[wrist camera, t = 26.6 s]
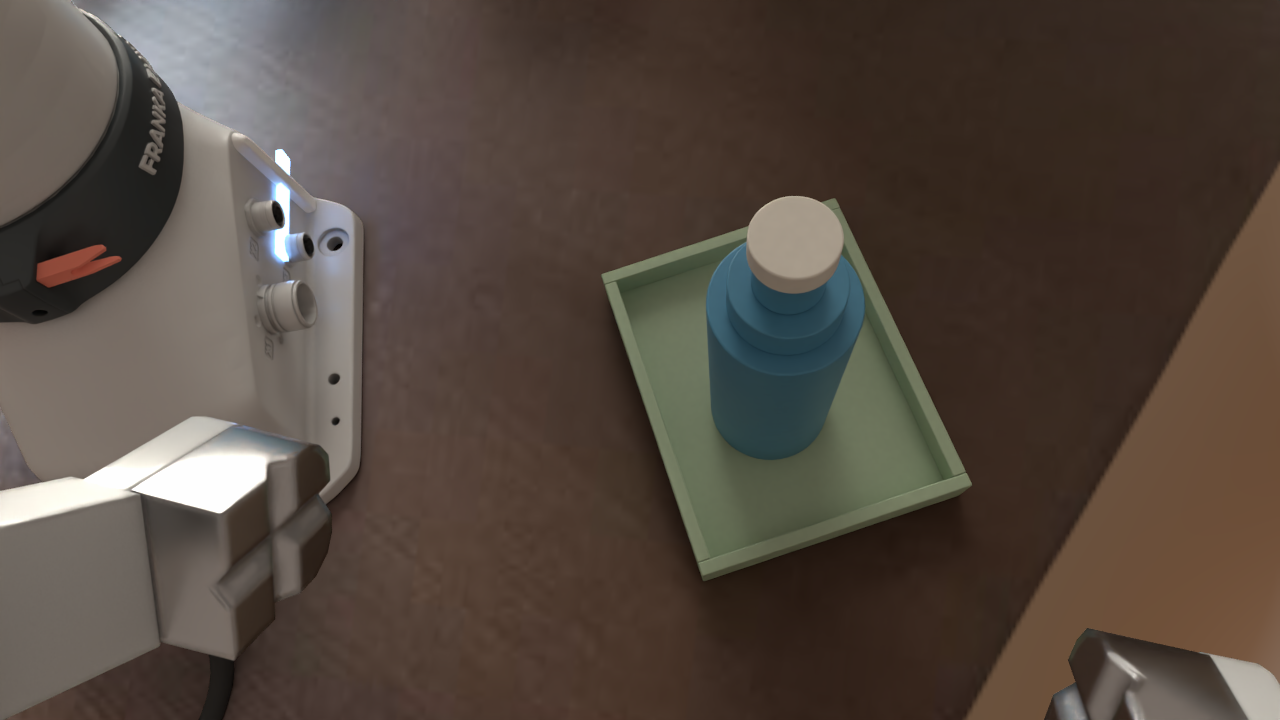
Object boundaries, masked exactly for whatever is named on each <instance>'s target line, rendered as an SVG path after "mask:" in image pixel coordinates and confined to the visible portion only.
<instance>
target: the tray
mask: <svg viewBox="0 0 1280 720" xmlns="http://www.w3.org/2000/svg"><path fill="white" fill-rule="evenodd" d="M821 203H822V204H824V205H826V206H827V207H828V208H829V209H830V210H831V211H832V212H833V213H834V214H835V215H836V217H837V218H838V220H839V222H840V223H841V226H842V229H843V233H844V245H843V249H842V253H841V255H842V256H843V257H844V258H845V259H846V260H847V261H848V262H849V263H850V265H851V266H852V268H853V269H854V270H855V272H856V274H857V276H858V278H859V280H860V282H861V285H862V288H863V292H864V297H865V316H864V321H863V325H862V328H861V330H860V333H859V336H858V338H857V341H856V343H855V346H854V348H853V351H852V353H851V356H850V359H849V361H848V364H847V366H846V369H845V371H844V374H843V376H842V379H841V382H840V384H839V387H838V389H837V392H836V394H835V397H834V399H833V402H832V405H831V407H830V410H829V412H828V415H827V417H826V420H825V422H824V425H823V427H822V430H821V431H820V433H819V435H818V436H817V438H816V439H815V440H814V441H813V442H812V443H811V444H810V445H809V446H808V447H807V448H805V449H804V450H803V451H801V452H799V453H797V454H796V455H793V456H790V457H787V458H783V459H777V460H763V459H757V458H753V457H750V456H748V455H745V454H743V453H741V452H739V451H738V450H736V449H735V448H733V447H732V446H731V445H730V444H729V443H728V442H727V441H726V440H725V439H724V438H723V437H722V436H721V434H720V433H719V431H718V429H717V427H716V425H715V423H714V420H713V416H712V411H711V397H710V378H709V358H708V339H707V319H706V295H707V289H708V286H709V283H710V280H711V278H712V276H713V273H714V272H715V270H716V268H717V267H718V265H719V264H720V263H721V262H722V260H723V259H724V258H725V257H726V256H727V255H728V254H729V253H731V252H732V251H733V250H734V249H736V248H737V247H739V246H740V245H742V244H744V243H746V242H747V232H748V228H749V226H748V227H745V228H742V229H739V230H736V231H733V232H730V233H726V234H723V235H720V236H717V237H714V238H711V239H708V240H705V241H702V242H699V243H696V244H693V245H690V246H687V247H684V248H681V249H678V250H675V251H671V252H668V253H665V254H662V255H659V256H656V257H653V258H650V259H647V260H644V261H641V262H638V263H635V264H632V265H629V266H626V267H623V268H619V269H616V270H613V271H610V272H607V273H604V274H602V275H601V276H602V280H603V283H604V286H605V289H606V293H607V296H608V299H609V302H610V305H611V308H612V311H613V314H614V317H615V320H616V323H617V326H618V329H619V332H620V335H621V338H622V340H623V343H624V346H625V349H626V352H627V355H628V358H629V361H630V364H631V367H632V370H633V373H634V376H635V379H636V382H637V385H638V388H639V391H640V394H641V397H642V400H643V403H644V406H645V409H646V412H647V415H648V418H649V421H650V424H651V427H652V430H653V433H654V436H655V439H656V442H657V445H658V448H659V451H660V454H661V457H662V460H663V463H664V466H665V469H666V472H667V475H668V478H669V481H670V484H671V487H672V490H673V493H674V496H675V499H676V502H677V505H678V508H679V511H680V514H681V517H682V520H683V523H684V526H685V529H686V532H687V535H688V538H689V541H690V544H691V547H692V550H693V553H694V556H695V559H696V562H697V565H698V568H699V571H700V574H701V577H702V580H703V581H707V580H710V579H713V578H716V577H719V576H722V575H725V574H728V573H731V572H734V571H737V570H740V569H743V568H745V567H748V566H751V565H754V564H757V563H760V562H763V561H766V560H769V559H772V558H775V557H778V556H781V555H784V554H787V553H790V552H793V551H796V550H799V549H802V548H805V547H808V546H811V545H814V544H817V543H820V542H823V541H826V540H829V539H832V538H834V537H837V536H840V535H843V534H846V533H849V532H852V531H855V530H858V529H861V528H864V527H867V526H870V525H873V524H876V523H879V522H882V521H885V520H888V519H891V518H894V517H897V516H900V515H903V514H906V513H909V512H912V511H915V510H918V509H921V508H923V507H926V506H929V505H932V504H935V503H938V502H941V501H944V500H947V499H950V498H953V497H956V496H959V495H960V494H962V493H963V492H964V491H965V490H967V489H968V488H969V487H971V486H972V483H971V481H970V479H969V477H968V475H967V474H966V473H965V472H966V471H965V469H964V467H963V465H962V462H961V460H960V458H959V456H958V454H957V452H956V450H955V448H954V446H953V444H952V442H951V439H950V437H949V435H948V433H947V431H946V429H945V427H944V425H943V423H942V421H941V418H940V416H939V414H938V412H937V410H936V408H935V406H934V404H933V402H932V400H931V398H930V395H929V393H928V391H927V389H926V387H925V385H924V383H923V381H922V379H921V377H920V375H919V372H918V370H917V368H916V366H915V364H914V362H913V360H912V358H911V356H910V354H909V351H908V349H907V347H906V345H905V343H904V341H903V339H902V337H901V335H900V333H899V331H898V328H897V326H896V324H895V322H894V320H893V318H892V316H891V314H890V312H889V310H888V308H887V305H886V303H885V301H884V299H883V297H882V295H881V293H880V291H879V289H878V287H877V284H876V282H875V280H874V278H873V276H872V274H871V272H870V270H869V268H868V266H867V264H866V261H865V259H864V257H863V255H862V253H861V251H860V249H859V247H858V245H857V243H856V241H855V238H854V236H853V234H852V232H851V230H850V228H849V226H848V224H847V222H846V220H845V218H844V215H843V213H842V211H841V209H840V207H839V205H838V203H837V200H836V199H835V198H833V199H830V200H827V201H824V202H821Z"/></svg>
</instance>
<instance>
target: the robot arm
mask: <svg viewBox="0 0 1280 720" xmlns="http://www.w3.org/2000/svg"><path fill="white" fill-rule="evenodd" d="M340 243H343V244H342V247H341V248H340V249H339V250H336V251H333V249H334V247H335V246H336V245H338V244H340ZM363 251H364V228H363V224H362V221H361V219H360V218H359V217H358V216H357V215H356V214H355V213H354V212H352V211H351V210H350V209H349V208H347V207H346V206H344V205H341V204H339V203H335V202H331V201H328V200H323V199H319V198H315V197H312V196H311V195H310V194H309V193H308V192H307V191H306V190H305V189H304V188H303V187H301V186H300V185H299V184H298V183H297V182H296V181H295V180H294V179H293V178H292V177H291V176H290V159H289V158H288V156H287V155H286V154H285V153H284V152H283V150H282V149H281V150H276V162H275V161H274V160H273V159H272V158H270V157H269V156H268V155H267V154H266V153H265V152H264V151H263V150H262V149H261V148H260V147H258V146H257V145H256V144H255V143H254V142H253V141H252V140H251V139H250V138H248V137H247V136H244V135H242V134H241V133H239V132H238V131H236V130H233V129H231V128H228V127H226V126H224V125H222V124H220V123H218V122H215V121H213V120H211V119H209V118H207V117H205V116H203V115H201V114H199V113H197V112H195V111H193V110H191V109H190V108H188V107H186V106H184V105H182V104H181V103H179V102H177V101H176V99H175V97H174V95H173V93H172V92H171V90H170V89H169V87H168V86H167V85H166V83H165V82H164V81H163V80H162V79H161V78H160V77H159V76H158V75H157V74H156V73H155V72H154V70H153V68H152V66H151V65H150V63H149V62H148V61H147V60H146V59H145V58H144V57H143V56H142V55H141V53H140V52H139V51H138V50H137V49H136V48H135V47H134V46H132V45H131V44H130V43H129V42H128V41H126V40H125V39H124V38H123V37H122V36H120V35H118V34H116V33H115V32H114V31H113V30H112V29H111V28H110V27H109V26H108V25H107V24H106V23H105V22H103V21H102V20H100V19H99V18H98V17H96V16H95V15H92V14H90V13H88V12H86V11H84V10H82V9H79V8H77V7H76V6H75V5H74V4H73V3H72V2H71V1H70V0H0V408H1V410H2V412H3V414H4V416H5V418H6V420H7V423H8V425H9V427H10V429H11V431H12V433H13V435H14V438H15V440H16V442H17V444H18V446H19V449H20V451H21V453H22V455H23V457H24V459H25V462H26V464H27V465H28V467H29V468H30V470H31V471H32V472H33V473H34V474H35V475H36V476H37V477H38V478H39V479H40V480H41V481H43V482H42V483H37V484H32V485H27V486H23V487H18V488H13V489H8V490H4V491H0V720H5V719H7V718H9V717H11V716H14V715H16V714H18V713H20V712H22V711H24V710H26V709H28V708H30V707H33V706H35V705H37V704H39V703H41V702H43V701H45V700H47V699H50V698H52V697H54V696H56V695H58V694H60V693H62V692H64V691H66V690H69V689H71V688H73V687H75V686H77V685H79V684H81V683H83V682H86V681H88V680H90V679H92V678H94V677H96V676H98V675H100V674H102V673H105V672H107V671H109V670H111V669H113V668H115V667H117V666H119V665H121V664H124V663H126V662H128V661H130V660H132V659H134V658H136V657H138V656H141V655H143V654H145V653H147V652H149V651H151V650H153V649H155V648H157V647H159V646H160V642H163V643H167V644H171V645H175V646H178V647H182V648H186V649H190V650H194V651H198V652H202V653H206V654H209V657H210V669H211V675H210V685H209V690H208V694H207V698H206V701H205V704H204V707H203V710H202V713H201V716H200V718H199V720H222V718H223V716H224V713H225V710H226V707H227V704H228V701H229V697H230V693H231V689H232V685H233V675H234V661H235V660H236V659H237V658H238V657H239V656H240V655H241V654H242V653H243V651H244V650H245V649H246V648H247V647H248V646H249V645H250V644H251V643H252V642H253V641H254V640H255V639H256V638H257V637H258V636H259V635H260V634H261V633H262V632H263V631H264V630H265V629H266V628H267V627H268V626H269V625H270V624H271V623H272V622H273V621H274V620H275V602H278V601H281V600H283V599H286V598H289V597H291V596H294V595H297V594H299V593H301V592H302V591H303V590H304V589H305V588H306V586H307V585H308V584H309V583H310V582H311V581H312V580H313V579H314V578H315V577H316V575H317V573H318V571H319V569H320V567H321V565H322V563H323V561H324V559H325V557H326V555H327V553H328V548H329V544H330V539H331V534H332V515H331V512H330V511H329V509H328V508H327V506H326V504H327V503H328V502H330V501H331V500H332V499H333V498H334V497H336V496H337V495H338V494H339V493H340V492H341V491H342V490H343V489H344V488H345V487H346V485H347V484H348V483H349V482H350V481H351V480H352V479H353V478H354V476H355V475H356V473H357V472H358V469H359V465H360V458H361V410H362V330H363ZM338 381H339V382H338ZM337 382H338V383H337ZM1068 661H1069V664H1070V667H1071V670H1072V672H1073V676H1074V679H1075V681H1076V682H1075V683H1073V684H1072V685H1070V686H1068V687H1066V688H1065V689H1063V690H1061V691H1059V692H1057V693H1056V694H1054V695H1053V697H1052V700H1051V703H1050V705H1049V708H1048V711H1047V713H1046V716H1045V719H1044V720H1280V684H1279V683H1278V681H1277V680H1276V678H1275V677H1274V675H1273V674H1272V673H1271V672H1269V671H1268V670H1266V669H1265V668H1263V667H1262V666H1260V665H1259V664H1257V663H1252V662H1247V661H1242V660H1237V659H1232V658H1227V657H1222V656H1217V655H1212V654H1208V653H1203V652H1199V653H1198V652H1193V651H1189V650H1184V649H1180V648H1175V647H1170V646H1166V645H1162V644H1157V643H1153V642H1148V641H1143V640H1139V639H1134V638H1130V637H1125V636H1121V635H1116V634H1112V633H1107V632H1103V631H1098V630H1094V629H1089V628H1087V629H1086V630H1085V631H1084V633H1083V634H1082V635H1081V636H1080V637H1079V638H1078V639H1077V641H1076V643H1075V645H1074V648H1073V650H1072V652H1071V655H1070V657H1069V659H1068Z"/></svg>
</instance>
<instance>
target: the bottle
mask: <svg viewBox="0 0 1280 720" xmlns="http://www.w3.org/2000/svg"><path fill="white" fill-rule="evenodd" d="M843 245H844V233H843V229H842V226H841V223H840V222H839V220H838V218H837V217H836V215H835V214H834V213H833V212H832V211H831V210H830V209H829V208H828V207H827V206H826V205H824V204H822V203H821V202H819V201H816V200H814V199H811V198H807V197H802V196H788V197H783V198H779V199H776V200H773V201H771V202H770V203H768V204H766V205H765V206H763V207H762V208H761V209H760V210H759V211H758V212H757V213H756V214H755V215H754V217H753V218H752V220H751V222H750V224H749V228H748V232H747V242H746V243H744V244H742V245H740V246H739V247H737V248H736V249H734V250H733V251H732V252H731V253H729V254H728V255H727V256H726V257H725V258H724V259H723V260H722V262H721V263H720V264H719V265H718V267H717V268H716V270H715V272H714V273H713V276H712V278H711V280H710V283H709V286H708V289H707V295H706V319H707V339H708V358H709V378H710V397H711V411H712V416H713V420H714V423H715V425H716V427H717V429H718V431H719V433H720V434H721V436H722V437H723V438H724V439H725V440H726V441H727V442H728V443H729V444H730V445H731V446H732V447H733V448H735V449H736V450H738V451H739V452H741V453H743V454H745V455H748V456H750V457H753V458H757V459H763V460H777V459H783V458H787V457H790V456H793V455H796V454H797V453H799V452H801V451H803V450H804V449H805V448H807V447H808V446H809V445H810V444H811V443H812V442H813V441H814V440H815V439H816V438H817V436H818V435H819V433H820V431H821V430H822V427H823V425H824V422H825V420H826V417H827V415H828V412H829V410H830V407H831V405H832V402H833V399H834V397H835V394H836V392H837V389H838V387H839V384H840V382H841V379H842V376H843V374H844V371H845V369H846V366H847V364H848V361H849V359H850V356H851V353H852V351H853V348H854V346H855V343H856V341H857V338H858V336H859V333H860V330H861V328H862V325H863V321H864V316H865V297H864V292H863V288H862V285H861V282H860V280H859V278H858V276H857V274H856V272H855V270H854V269H853V268H852V266H851V265H850V263H849V262H848V261H847V260H846V259H845V258H844V257H843V256H842V255H841V253H842V249H843Z"/></svg>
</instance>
